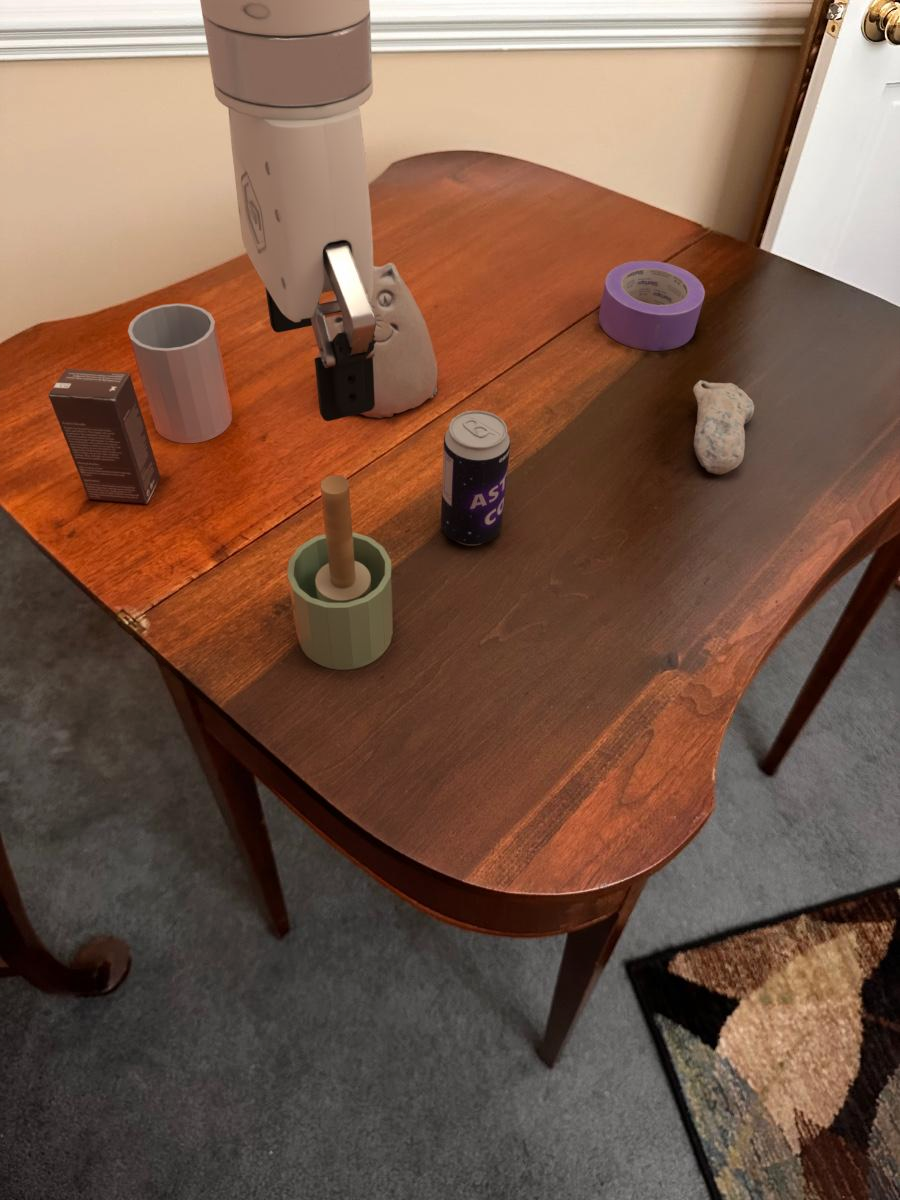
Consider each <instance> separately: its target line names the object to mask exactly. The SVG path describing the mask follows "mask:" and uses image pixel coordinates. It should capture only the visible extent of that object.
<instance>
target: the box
mask: <svg viewBox="0 0 900 1200" xmlns="http://www.w3.org/2000/svg"><path fill="white" fill-rule="evenodd" d="M47 396H48V399H49V402H50V403H51V406H52V409H53V411H54V413H55V416H56V418H57V421H58V424H59V427H60V429H61V432H62V434H63V437H64V439H65V442H66V445H67V447H68V449H69V453H70V455H71V458H72V460H73V462H74V465H75V468H76V471H77V473H78V475H79V478H80V481H81V484H82V487H83V489H84V492H85V495H86V496H87V499H88V500H97V501H109V502H121V503H123V502H124V503H134V504H145V505H148V503H149V501H151V498H152V496H153V494H154V492H155V489H156V487H157V485H158V483H159V480H160V478H161V474H160V472H159V468H158V465H157V461H156V458H155V457H156V456H155V454H154V451H153V448H152V443H151V441H150V440H151V439H150V437H149V433H148V431H147V427H146V424H145V420H144V416H143V414H142V411H141V407H140V404H139V400H138V396H137V394H136V390H135V386H134V383H133V381H132V376H131V373H130V372H115V371H103V370H102V371H99V370H87V369H73V368H66V369H65V370H64V371H63V373H62V374H61V376H60V377H59V378H58V379H57V381H56V383H55V384H54V386H53V387H52V389H50V391H49V392H48V394H47Z"/></svg>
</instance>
